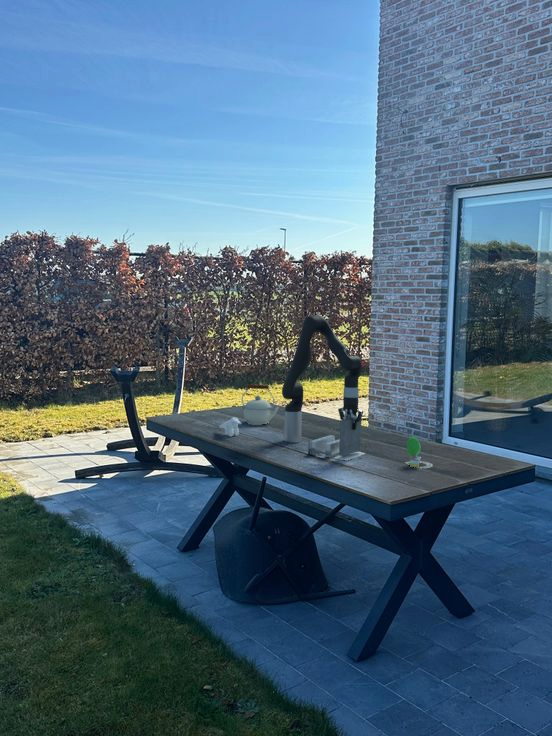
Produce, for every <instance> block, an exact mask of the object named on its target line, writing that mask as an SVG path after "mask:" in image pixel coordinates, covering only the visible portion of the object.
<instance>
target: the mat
mask: <svg viewBox="0 0 552 736" xmlns="http://www.w3.org/2000/svg"><path fill="white" fill-rule="evenodd" d="M364 454H365V455H367V454H366V452H361V451H359V452H354V453H351V454H348V455H346V456H340V455H337V456H335V457H333V459H334V460H338V459H339V460H340V461H343V460H346V461H345V462H349V461H351V460H350V459H352V460H354V459H353V458H355V459H357V458H359V457H358V456H360V457H362V456H361V455H363V456H365V455H364ZM356 457H357V458H356ZM339 460H338V461H339ZM348 460H349V461H348Z"/></svg>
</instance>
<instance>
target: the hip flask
mask: <svg viewBox="0 0 552 736" xmlns="http://www.w3.org/2000/svg"><path fill="white" fill-rule="evenodd" d="M339 439H340V444H339V455H340V456H346V455H348V454H351V453H354V452H361V451H362V450H361V449H362V420H361V421H360V422H357V428H356V430H353V420H352V418H351V415H349V414H347V419H343V420H341V419H340V420H339ZM339 455H338V456H339Z"/></svg>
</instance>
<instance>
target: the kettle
mask: <svg viewBox="0 0 552 736" xmlns="http://www.w3.org/2000/svg"><path fill="white" fill-rule="evenodd" d="M249 389H255V390H256V389H257V390H259V389H260V390H267V392H268V394H269V395H270V396H271V398H272V401H273V403H272V405H271V404H270V402H269V401H267V400H264V399H262V397H261V396H260V395H256V396H255V397H254V399H250V400H248V401H247V402H246V403H244V401H243V399H244V396H245V394H246V393H247V392H248V390H249ZM241 402H242V409H243V418H244V420H246V424H247V423H248V425H250V424H251V425H250V426H263V425H262V424H266V425H268V424H270V421H271V420H272V418H273V417H274V416H275V415H276V414H277V412H278V411H279V408H280V407H279V406H276V407H275V408H273V407H274V405H275V397H274V395H273V394H272V393H271V392H270V385H268V384H267V385H263V384H246V391H245V392H244V393H243V394H242V396H241ZM267 423H268V424H267Z"/></svg>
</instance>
